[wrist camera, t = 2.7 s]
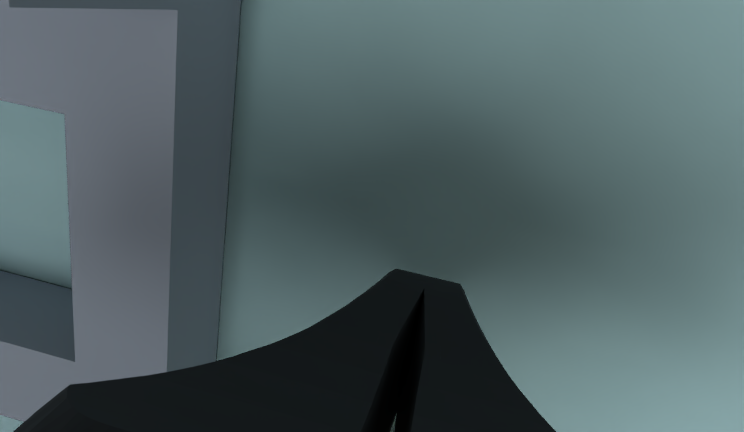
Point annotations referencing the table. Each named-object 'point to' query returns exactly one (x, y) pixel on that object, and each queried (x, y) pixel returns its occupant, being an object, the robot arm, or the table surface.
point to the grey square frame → (123, 188)
